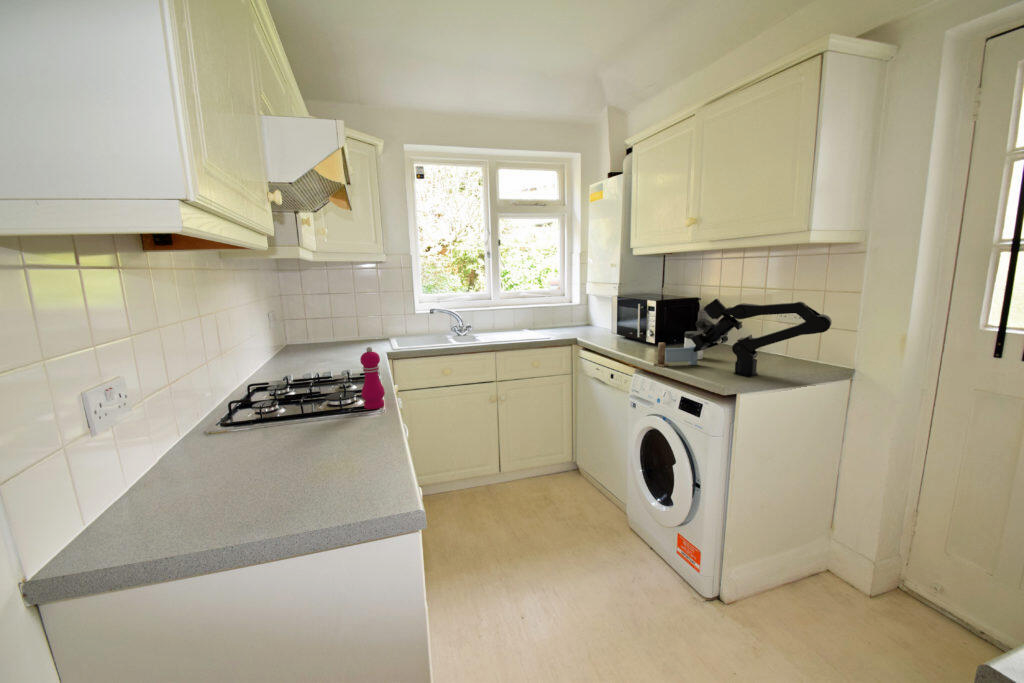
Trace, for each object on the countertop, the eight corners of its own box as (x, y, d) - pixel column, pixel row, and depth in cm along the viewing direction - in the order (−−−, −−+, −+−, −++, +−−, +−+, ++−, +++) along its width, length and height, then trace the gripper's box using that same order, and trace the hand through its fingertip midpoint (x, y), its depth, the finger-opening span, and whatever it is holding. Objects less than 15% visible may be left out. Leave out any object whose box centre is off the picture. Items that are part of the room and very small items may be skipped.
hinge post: (668, 365, 179) (669, 343, 178) (662, 367, 177) (663, 344, 175) (659, 363, 183) (660, 341, 181) (653, 365, 181) (654, 342, 179)
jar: (683, 355, 199) (684, 330, 197) (701, 356, 196) (703, 331, 194) (684, 359, 191) (685, 333, 188) (703, 360, 188) (704, 334, 186)
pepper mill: (373, 411, 132) (368, 349, 128) (358, 408, 135) (352, 348, 132) (390, 404, 138) (385, 345, 134) (375, 401, 141) (369, 344, 138)
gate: (666, 365, 179) (667, 347, 177) (664, 364, 181) (665, 346, 180) (696, 364, 179) (697, 347, 178) (694, 363, 181) (695, 345, 180)
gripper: (722, 310, 174) (697, 333, 185) (695, 315, 164) (671, 338, 176) (740, 330, 169) (713, 353, 180) (713, 336, 159) (687, 360, 171)
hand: (696, 350), depth 177 cm, fingers open, 3 cm apart
